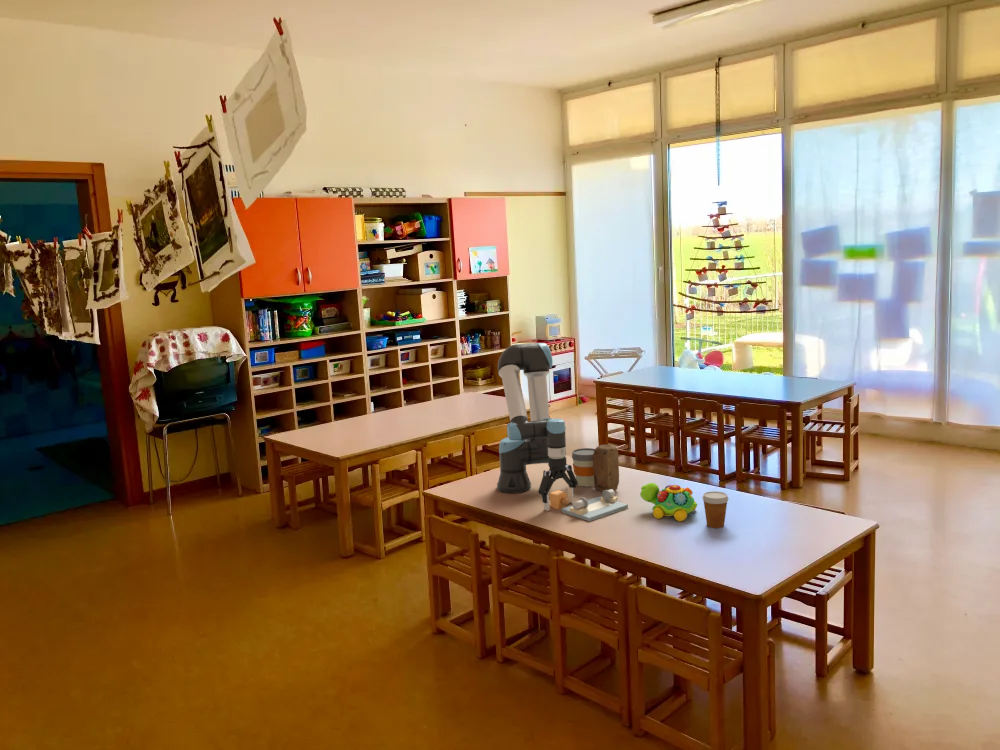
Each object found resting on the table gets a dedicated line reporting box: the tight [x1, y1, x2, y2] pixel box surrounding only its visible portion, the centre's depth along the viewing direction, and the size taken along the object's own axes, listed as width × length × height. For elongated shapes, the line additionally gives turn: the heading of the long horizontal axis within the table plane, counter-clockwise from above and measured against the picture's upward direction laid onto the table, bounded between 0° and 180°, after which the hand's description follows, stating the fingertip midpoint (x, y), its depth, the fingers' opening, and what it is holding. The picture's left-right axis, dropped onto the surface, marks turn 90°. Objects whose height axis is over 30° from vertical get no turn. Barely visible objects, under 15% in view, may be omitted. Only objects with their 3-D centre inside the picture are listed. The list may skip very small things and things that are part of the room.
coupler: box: [548, 489, 570, 510], centre depth 330 cm, size 5×10×6 cm, turn 38°
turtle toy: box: [639, 482, 698, 522], centre depth 315 cm, size 17×23×12 cm
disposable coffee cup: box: [702, 490, 730, 529], centre depth 300 cm, size 10×10×12 cm
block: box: [593, 443, 620, 493], centre depth 347 cm, size 11×8×20 cm
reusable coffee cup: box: [571, 447, 595, 488], centre depth 359 cm, size 13×13×15 cm
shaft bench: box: [561, 489, 629, 522], centre depth 324 cm, size 16×23×7 cm
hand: (558, 506), depth 330 cm, fingers open, 13 cm apart
